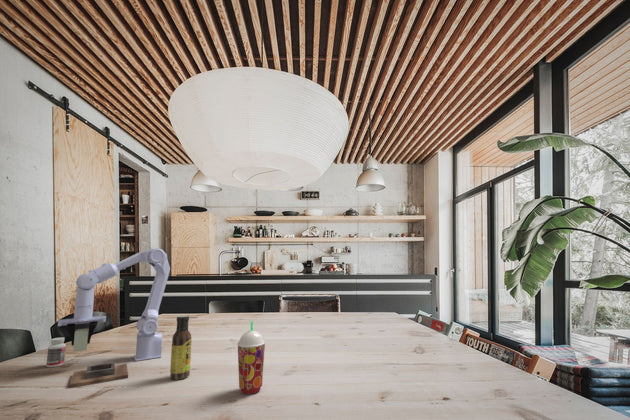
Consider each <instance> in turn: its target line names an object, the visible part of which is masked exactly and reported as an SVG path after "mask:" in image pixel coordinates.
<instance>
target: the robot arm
mask: <svg viewBox="0 0 630 420" xmlns="http://www.w3.org/2000/svg"><path fill="white" fill-rule="evenodd" d="M138 263H148V264H149V265H151V266H152V267H153V269H154V270H155V272H156V273H155V276H154V279H153V281H152V286H151V289H150V293H149V295H148V299H147V303H146V305H145V308H144V311H143V312H142V314H141V317H140V318H139V319H138V320H137V323H136V328H137V330H138V332H137V333H136V345H135V346H136V348H135V354H134V355H133V359H134V361H135V362H138V361H144V360H151V359H159V358H161V357H162V352H163V351H162V350H163V334H162V333H161V332H160V333H158V332H157V331H158V329H159V310H160V307H161V303H162V299H163V296H164V293H165V290H166V285H167V282H168V279H169V276H170V271H171V266H170V264H169V260H168V254H167V253H166V252H165V251H164V249H162V248H159V247H158V248H157V247H155V248H149V249H147V250H143V251H140V252H137V253H135V254H133V255H131V256H128V257H127V258H125V259H122V260H121V261H119V262H116V263H111V262H108V263H106V262H104V263H102V264H101V266H99V267H97V268H95V269H90V270H88V273H82V274H81V275H79V276H78V278H77V279H76V281H75V284H76V286H77V287H76V294H75V301H74V311H73V313H74V314H73V318H66V319H64V318H63V319H58V320H57V327H62V326H66V330H67V332H68V334H69V336H70V341H71V346H72V347H74V337H75V331H76V330H77V325H81V324H83V325H84V324H89V325H88V328H89V334H88V341H87V344H88V345H90V344H91V343H90V342H91V339H92V335H93V333H94V332H95V329H96V327H97V326H98V323H106V322H107V315H102V316H101V315H100V316H98V315H97V316H93V315H94V313H93V312H94V302H95V287H96V285H97V284H102V283H103V282H105V281H108V280H110V279H112V278H114V277H116V276H117V275H118V273H119V271H122V270H124V269H126V268H128V267H131V266H133V265H136V264H138Z"/></svg>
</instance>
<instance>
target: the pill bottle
mask: <svg viewBox="0 0 630 420" xmlns="http://www.w3.org/2000/svg"><path fill="white" fill-rule="evenodd" d="M50 341H51V342H50V345H49V346H48V348H47V355H46V367H47V368H56V367H60V366H63V365H64V364H65V360H66V359H65V358H66V357H65V356H66V348H67V345H66V344H65V343H64V342H65V337H55V338H52V339H51V340H50Z"/></svg>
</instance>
